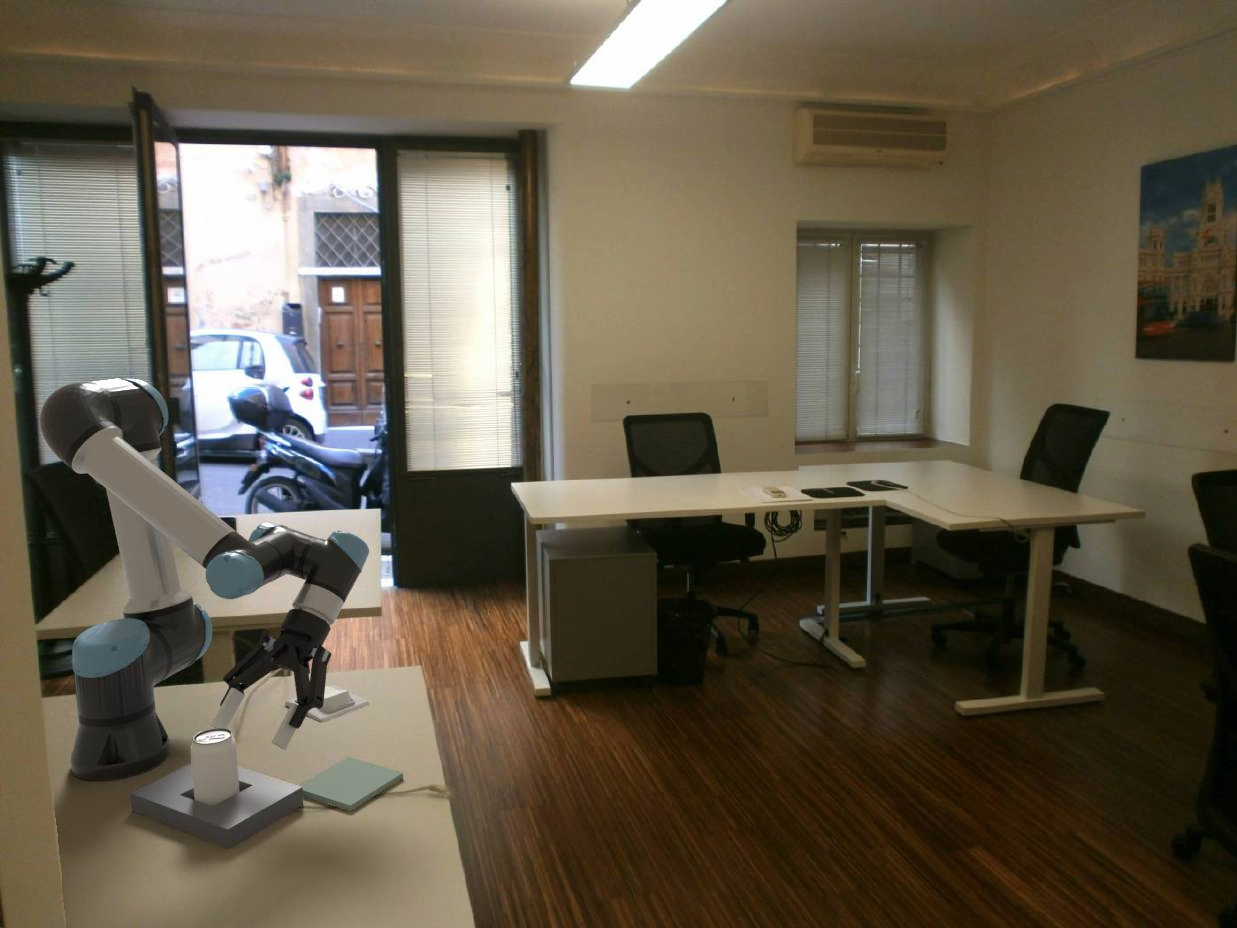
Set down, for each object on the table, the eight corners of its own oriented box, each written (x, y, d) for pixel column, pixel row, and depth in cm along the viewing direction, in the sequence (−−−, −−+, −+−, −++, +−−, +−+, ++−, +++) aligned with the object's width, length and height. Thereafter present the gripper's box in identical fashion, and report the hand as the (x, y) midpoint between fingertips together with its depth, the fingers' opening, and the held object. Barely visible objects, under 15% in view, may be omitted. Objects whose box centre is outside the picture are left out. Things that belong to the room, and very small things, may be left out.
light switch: (322, 709, 180) (283, 688, 188) (323, 729, 181) (284, 708, 189) (370, 691, 188) (331, 671, 196) (370, 710, 189) (331, 690, 197)
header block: (131, 810, 149) (130, 792, 149) (208, 772, 162) (207, 755, 161) (229, 848, 139) (227, 829, 138) (303, 804, 151) (302, 786, 151)
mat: (294, 793, 155) (294, 787, 155) (349, 762, 165) (348, 756, 165) (350, 811, 149) (350, 805, 149) (403, 778, 159) (402, 772, 159)
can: (197, 801, 152) (192, 729, 150) (241, 794, 154) (236, 724, 152) (193, 821, 146) (186, 747, 144) (238, 814, 148) (233, 741, 146)
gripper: (380, 638, 159) (319, 762, 149) (271, 617, 171) (208, 730, 161) (355, 617, 154) (290, 744, 143) (245, 596, 165) (177, 712, 155)
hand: (247, 737), depth 152 cm, fingers open, 13 cm apart
